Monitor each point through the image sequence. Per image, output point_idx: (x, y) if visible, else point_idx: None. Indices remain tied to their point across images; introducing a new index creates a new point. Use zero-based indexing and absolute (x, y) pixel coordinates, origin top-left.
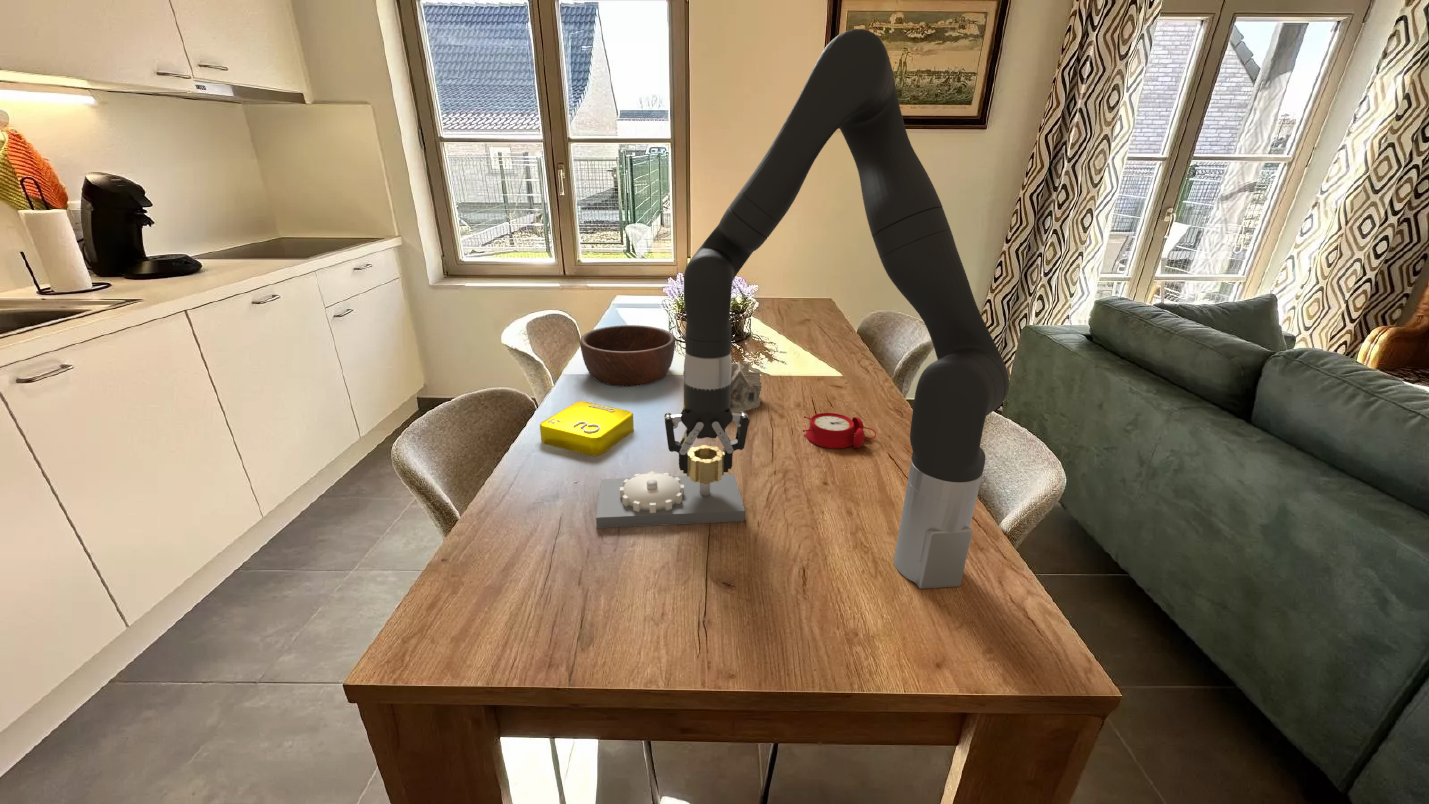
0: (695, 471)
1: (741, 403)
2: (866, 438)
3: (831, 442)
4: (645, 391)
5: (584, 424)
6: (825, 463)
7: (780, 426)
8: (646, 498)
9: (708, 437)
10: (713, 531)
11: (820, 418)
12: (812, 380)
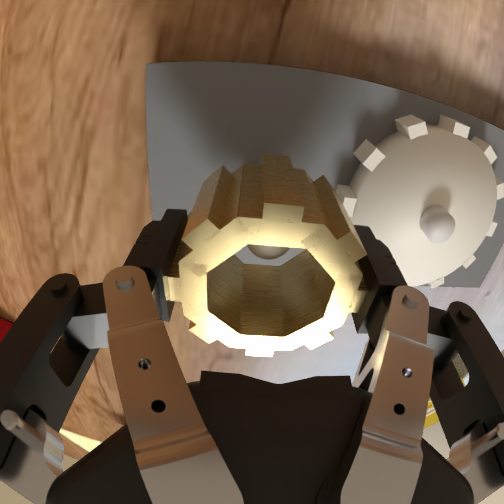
0: (336, 199)
1: None
2: None
3: (4, 330)
4: None
5: (427, 411)
6: (3, 286)
7: (90, 385)
8: (466, 165)
9: (265, 381)
10: (268, 21)
11: None
12: (75, 430)
